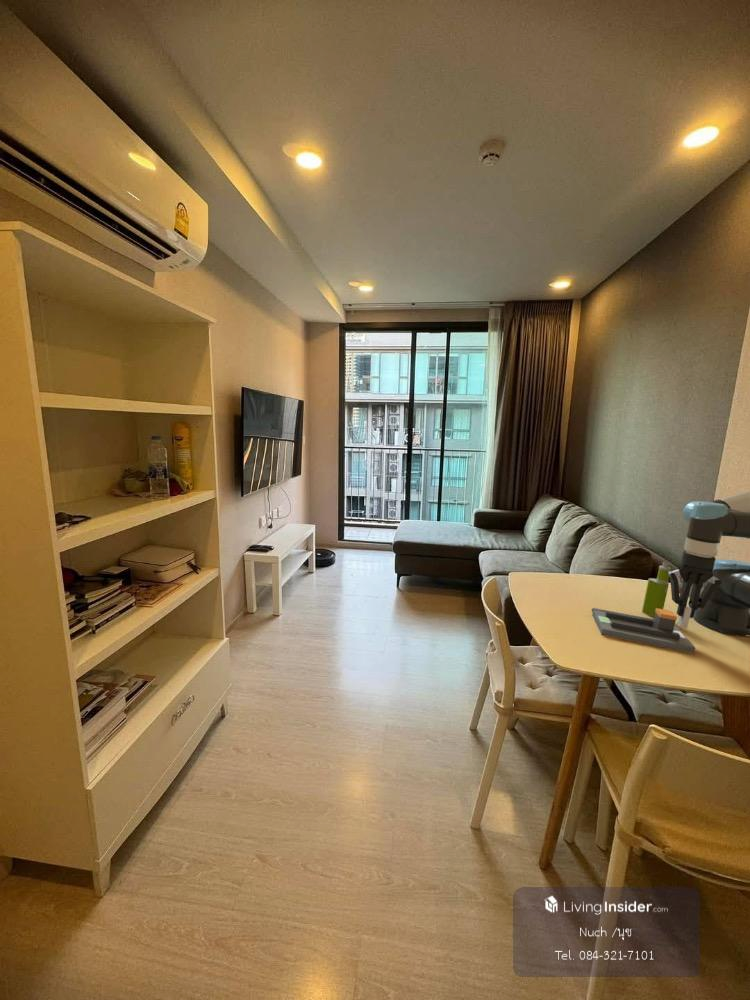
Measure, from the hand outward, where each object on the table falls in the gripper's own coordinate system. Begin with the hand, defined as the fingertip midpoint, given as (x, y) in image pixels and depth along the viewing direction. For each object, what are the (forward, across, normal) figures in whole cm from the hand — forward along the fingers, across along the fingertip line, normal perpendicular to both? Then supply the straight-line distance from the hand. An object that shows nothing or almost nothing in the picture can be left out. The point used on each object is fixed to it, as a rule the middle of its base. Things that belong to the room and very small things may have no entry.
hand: (682, 626), depth 116 cm
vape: (+5, +2, -18) cm, 19 cm away
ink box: (+5, -21, -49) cm, 54 cm away
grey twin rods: (+5, +11, -10) cm, 15 cm away
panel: (+5, +11, 0) cm, 12 cm away
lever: (+3, +5, 0) cm, 5 cm away
